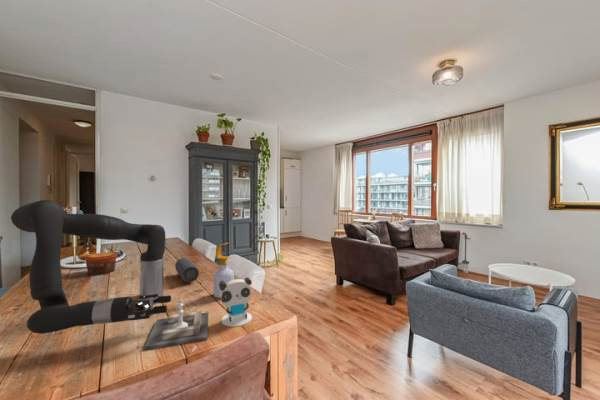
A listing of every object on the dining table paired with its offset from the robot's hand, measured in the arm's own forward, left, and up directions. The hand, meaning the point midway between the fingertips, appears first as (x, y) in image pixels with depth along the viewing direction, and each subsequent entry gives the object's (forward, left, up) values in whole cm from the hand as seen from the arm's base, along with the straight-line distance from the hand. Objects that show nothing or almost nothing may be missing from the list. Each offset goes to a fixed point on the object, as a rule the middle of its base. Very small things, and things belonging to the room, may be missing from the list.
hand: (168, 303), depth 89 cm
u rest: (+3, +2, -10) cm, 11 cm away
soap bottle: (-6, +33, -10) cm, 36 cm away
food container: (-97, +26, -10) cm, 102 cm away
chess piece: (+3, +2, -9) cm, 10 cm away
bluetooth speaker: (-41, +41, -10) cm, 59 cm away
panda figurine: (+15, +17, -10) cm, 25 cm away
